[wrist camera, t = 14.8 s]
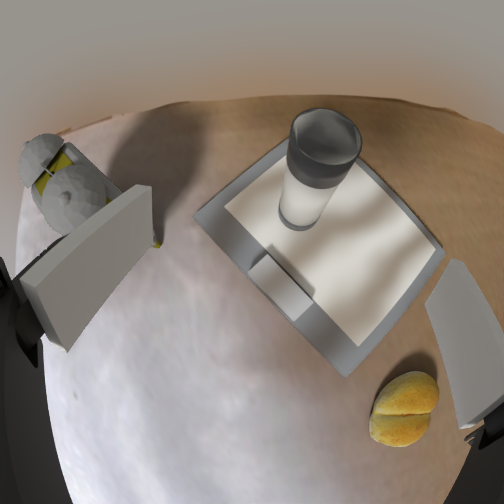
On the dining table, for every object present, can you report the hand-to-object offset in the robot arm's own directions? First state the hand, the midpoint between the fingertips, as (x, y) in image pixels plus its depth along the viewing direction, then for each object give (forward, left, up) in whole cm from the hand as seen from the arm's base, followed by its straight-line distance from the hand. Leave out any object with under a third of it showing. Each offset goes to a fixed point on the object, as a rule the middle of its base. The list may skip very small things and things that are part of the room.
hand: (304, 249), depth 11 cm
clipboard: (0, -7, -16) cm, 18 cm away
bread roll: (-20, 0, -17) cm, 26 cm away
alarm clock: (+16, +9, -17) cm, 24 cm away
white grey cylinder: (+4, -6, -15) cm, 17 cm away
